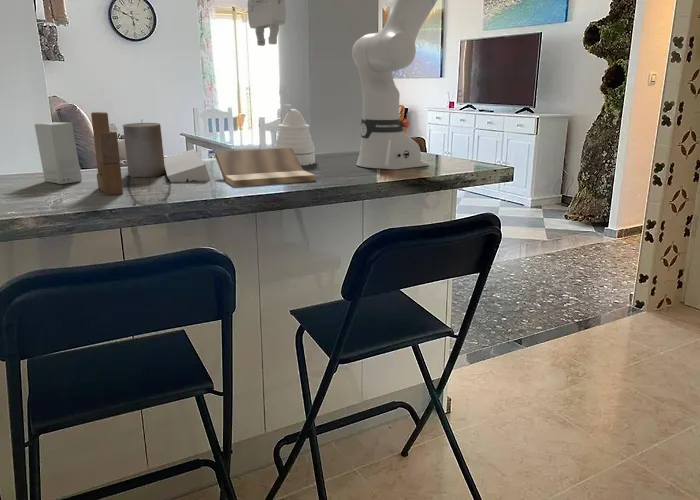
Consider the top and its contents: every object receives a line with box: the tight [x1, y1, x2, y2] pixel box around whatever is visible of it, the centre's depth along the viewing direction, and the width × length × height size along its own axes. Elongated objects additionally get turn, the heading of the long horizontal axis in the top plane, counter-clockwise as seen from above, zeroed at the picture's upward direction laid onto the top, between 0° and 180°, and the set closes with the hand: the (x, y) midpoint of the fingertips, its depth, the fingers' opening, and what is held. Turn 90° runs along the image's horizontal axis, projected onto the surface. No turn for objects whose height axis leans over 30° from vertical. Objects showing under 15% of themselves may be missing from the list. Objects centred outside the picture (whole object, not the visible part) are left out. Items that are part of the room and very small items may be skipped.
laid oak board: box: [224, 170, 317, 188], centre depth 151 cm, size 22×8×2 cm, turn 116°
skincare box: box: [34, 121, 83, 185], centre depth 146 cm, size 8×6×15 cm
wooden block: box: [90, 111, 124, 196], centre depth 134 cm, size 4×11×18 cm, turn 33°
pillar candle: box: [121, 119, 166, 178], centre depth 157 cm, size 10×10×15 cm
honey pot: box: [273, 104, 316, 166], centre depth 182 cm, size 13×13×18 cm
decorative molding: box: [164, 148, 211, 183], centre depth 166 cm, size 34×5×10 cm
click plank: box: [214, 148, 304, 181], centre depth 158 cm, size 22×10×2 cm
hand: (266, 45), depth 154 cm, fingers open, 8 cm apart
